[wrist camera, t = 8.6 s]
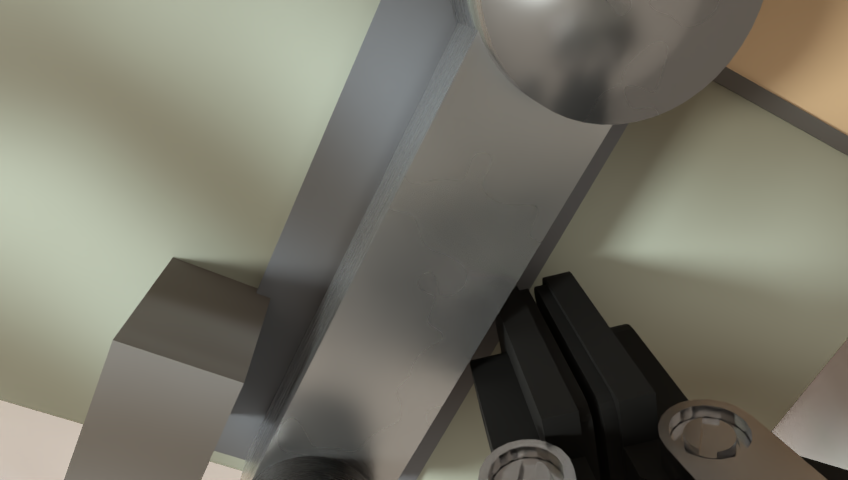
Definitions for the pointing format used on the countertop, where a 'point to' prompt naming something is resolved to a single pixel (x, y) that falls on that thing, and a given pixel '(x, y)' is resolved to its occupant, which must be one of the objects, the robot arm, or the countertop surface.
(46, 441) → the countertop surface
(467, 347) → the arm
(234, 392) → the lock board
